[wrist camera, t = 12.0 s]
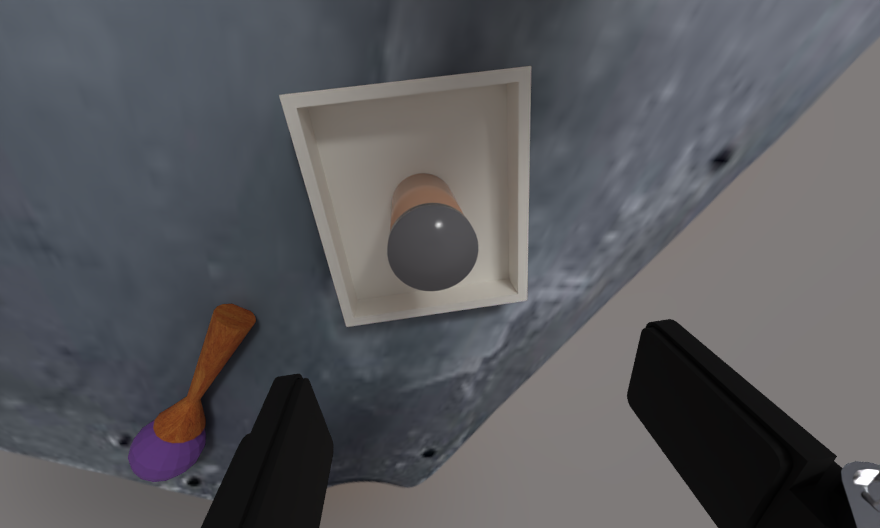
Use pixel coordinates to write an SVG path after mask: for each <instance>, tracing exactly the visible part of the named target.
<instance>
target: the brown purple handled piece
mask: <svg viewBox="0 0 880 528" xmlns="http://www.w3.org/2000/svg"><path fill="white" fill-rule="evenodd" d="M255 322H256V319H255V316H254V314H253V313H252V312H251V311H249V310H246V309H244V308H241V307H239V306H236V305H234V304H222V305H220V306H217V307H216V309H215V310H214V312H213V315H212V318H211V321H210V325H209V328H208V331H207V334H206V337H205V341H204V344H203V347H202V350H201V353H200V357H199V360H198V363H197V366H196V370H195V373H194V376H193V379H192V382H191V386H190V389H189V392H188V395H187V397H185V398H184V399H182V400H180V401H179V402H177V403H176V404H174V405H173V406H171V407H169V408H168V409H166V410H165V411H163V412H161V413H160V414H159V415H158V416H157V418H156V419H155V420H154V421H152V422H151V423H149V424H148V425H146V426H145V427H143V428H142V429H141V431H140V432H139V433H138V434H137V436H136V437H135V438H134V440H133V442H132V444H131V447H130V451H129V455H128V460H129V463H130V465H131V468H132V470H133V472H134V473H135V474H136V475H137V476H138V477H140V478H141V479H143V480H147V481H151V482H158V481H166V480H169V479H171V478H173V477H176V476H178V475H180V474H182V473H183V472H185V471H186V470H187V469H189V468H190V467H191V466H192V465H193V464H195V463H196V461H197V459H198V457H199V455H200V454H201V452H202V450H203V448H204V446H205V442H206V433H205V423H206V418H205V415H204V411H203V407H202V403H201V397H202V396H203V395H204V393H205V392H206V390H207V389H208V388H209V386H210V385H211V384H212V382H213V381H214V379H215V378H216V377H217V375H218V374H219V372H220V371H221V370H222V368H223V367H224V365H225V364H226V363H227V361H228V360H229V358H230V357H231V356H232V354H233V353H234V351H235V350H236V349H237V347H238V346H239V344H240V343H241V342H242V340H243V339H244V338H245V336H246V335H247V333H248V332H249V331H250V329H251V328H252V326H253V325H254V323H255Z"/></svg>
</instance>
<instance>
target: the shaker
mask: <svg viewBox="0 0 880 528" xmlns="http://www.w3.org/2000/svg"><path fill="white" fill-rule="evenodd" d="M387 255H388V261H389V264H390V267H391V269H392V271H393V272H394V274H395V275H396V276H397V277H398V278H399V279H400V280H401V281H402V282H403V283H405V284H406V285H408V286H410V287H412V288H415V289H418V290H422V291H440V290H445V289H448V288H450V287H452V286H455V285H456V284H458V283H459V282H461V281H462V280H463V279H464V278H465V277H467V276H468V274H469V273H470V272H471V270H472V269H473V267H474V265H475V263H476V260H477V257H478V239H477V236H476V233H475V231H474V229H473V227H472V226H471V224H470V222H469V221H468V219H467V218H466V217H465V216H464V214H463V212H462V210H461V209H460V207H459V205H458V203H457V201H456V199H455V197H454V195H453V193H452V192H451V190H450V188H449V186H448V185H447V184H446V183H445V182H444V181H443V180H442V179H440V178H439V177H437V176H435V175H432V174H427V173H419V174H414V175H411V176H409V177H407V178H405V179H404V180H403V181H402V182H400V184H399V185H398V186H397V187H396V189H395V191H394V193H393V196H392V205H391V223H390V233H389V237H388V246H387Z"/></svg>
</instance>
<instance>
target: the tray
mask: <svg viewBox="0 0 880 528" xmlns="http://www.w3.org/2000/svg"><path fill="white" fill-rule="evenodd" d="M279 96H280V100H281V103H282V107H283V110H284V114H285V117H286V121H287V124H288V127H289V131H290V134H291V138H292V141H293V145H294V148H295V152H296V155H297V158H298V162H299V165H300V169H301V172H302V176H303V179H304V183H305V186H306V189H307V193H308V196H309V200H310V203H311V207H312V210H313V214H314V217H315V220H316V224H317V227H318V231H319V234H320V238H321V241H322V245H323V248H324V252H325V255H326V258H327V262H328V265H329V269H330V272H331V276H332V279H333V283H334V286H335V289H336V293H337V296H338V300H339V303H340V307H341V310H342V314H343V317H344V320H345V324H346V327H350V326H357V325H364V324H371V323H377V322H384V321H391V320H398V319H405V318H411V317H418V316H425V315H432V314H439V313H445V312H452V311H459V310H466V309H473V308H479V307H486V306H493V305H500V304H507V303H513V302H520V301H527V278H528V222H529V166H530V110H531V66H525V67H517V68H508V69H500V70H491V71H482V72H474V73H465V74H456V75H448V76H439V77H430V78H422V79H413V80H405V81H396V82H387V83H379V84H370V85H361V86H353V87H344V88H336V89H327V90H318V91H310V92H301V93H292V94H284V95H279ZM419 173H427V174H432V175H435V176H437V177H439V178H440V179H442V180H443V181H444V182H445V183H446V184H447V185H448V186H449V188H450V190H451V192H452V193H453V195H454V197H455V199H456V201H457V203H458V205H459V207H460V209H461V210H462V212H463V214H464V216H465V217H466V218H467V219H468V221H469V222H470V224H471V226H472V227H473V229H474V231H475V233H476V236H477V239H478V257H477V260H476V263H475V265H474V267H473V269H472V270H471V272H470V273H469V274H468V276H467V277H465V278H464V279H463V280H462V281H461V282H459V283H458V284H456V285H455V286H452V287H450V288H448V289H445V290H440V291H422V290H418V289H415V288H412V287H410V286H408V285H406V284H405V283H403V282H402V281H401V280H400V279H399V278H398V277H397V276H396V275H395V274H394V272H393V271H392V269H391V267H390V264H389V261H388V255H387V246H388V237H389V233H390V223H391V205H392V196H393V193H394V191H395V189H396V187H397V186H398V185H399V184H400V182H402V181H403V180H404V179H405V178H407V177H409V176H411V175H414V174H419Z"/></svg>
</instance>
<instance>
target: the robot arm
mask: <svg viewBox="0 0 880 528" xmlns="http://www.w3.org/2000/svg"><path fill="white" fill-rule="evenodd" d="M627 399H628V403H629V405H630V407H631V408H632V410H633V411H634V412H635V414H636V415H637V417H638V418H639V419H640V421H641V422H642V423H643V425H644V426H645V428H646V429H647V430H648V432H649V433H650V434H651V436H652V437H653V439H654V440H655V441H656V443H657V444H658V446H659V447H660V448H661V449H662V451H663V452H664V454H665V455H666V456H667V458H668V459H669V461H670V462H671V463H672V465H673V466H674V468H675V469H676V470H677V472H678V473H679V474H680V476H681V477H682V479H683V480H684V481H685V482H686V484H687V485H688V487H689V488H690V490H691V491H692V492H693V494H694V495H695V497H696V498H697V499H698V500H699V502H700V503H701V505H702V506H703V507H704V509H705V510H706V512H707V513H708V514H709V516H710V517H711V519H712V520H713V521H714V523H715V524H716V525H717V527H718V528H880V465H877V464H874V463H869V462H852V463H848V464H846V465H845V466H844V467H843V468H842V467H840V466H839V465H838V464H837V463H836V462H834V460H835V458H836V457H837V456H836V455H835V454H834V453H832V452H831V451H830V450H829V449H828V448H826V447H825V446H824V445H823V444H821V443H820V442H819V441H818V440H816V438H814V437H813V436H812V435H811V434H810V433H809V432H807V431H806V430H805V429H804V428H803V427H801V426H800V425H799V424H798V423H797V422H795V421H794V420H793V419H792V418H790V417H789V416H788V415H787V414H786V413H785V412H783V411H782V410H781V409H780V408H779V407H777V406H776V405H775V404H774V403H773V402H772V401H770V400H769V399H768V398H767V397H765V396H764V395H763V394H762V393H761V392H760V391H758V390H757V389H756V388H755V387H754V386H752V385H751V384H750V383H749V382H747V381H746V380H745V379H744V378H743V377H742V376H741V375H739V374H738V373H737V372H735V371H734V370H733V369H732V368H731V367H730V366H729V365H727V364H726V363H725V362H724V361H723V360H721V359H720V358H719V357H718V356H717V355H715V354H714V353H713V352H712V351H711V350H709V349H708V348H707V347H706V346H705V345H703V344H702V343H701V342H700V341H699V340H698V339H696V338H695V337H694V336H693V335H692V334H690V333H689V332H688V331H687V330H686V329H684V328H683V327H682V326H681V325H680V324H678V323H677V322H676V321H674V320H671V319H668V320H661V321H655V322H649V323H648V324H647V326H646V328H644V329H643V330H642V332H641V336H640V341H639V344H638V349H637V353H636V358H635V362H634V366H633V371H632V375H631V379H630V384H629V388H628V392H627ZM332 457H333V441H332V438H331V435H330V433H329V430H328V428H327V425H326V422H325V420H324V417H323V415H322V412H321V409H320V407H319V404H318V402H317V399H316V397H315V394H314V391H313V389H312V386H311V384H310V381H309V379H308V378H304V379H303V378H302V376H301V375H300V374H293V375H286V376H280V377H277V378H275V380H274V381H273V384H272V386H271V388H270V390H269V393H268V395H267V397H266V399H265V402H264V404H263V406H262V408H261V411H260V413H259V415H258V417H257V420H256V422H255V424H254V426H253V429H252V431H251V433H250V434H247V435H246V436H245V437H244V438H243V439H242V441H241V442H240V444H239V446H238V448H237V450H236V452H235V455H234V457H233V459H232V461H231V463H230V465H229V468H228V470H227V472H226V474H225V476H224V478H223V481H222V483H221V485H220V487H219V489H218V491H217V494H216V496H215V498H214V500H213V502H212V505H211V507H210V509H209V511H208V513H207V516H206V518H205V520H204V522H203V525H202V526H201V528H319V526H320V521H321V515H322V510H323V504H324V500H325V494H326V489H327V484H328V478H329V473H330V468H331V463H332Z"/></svg>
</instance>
